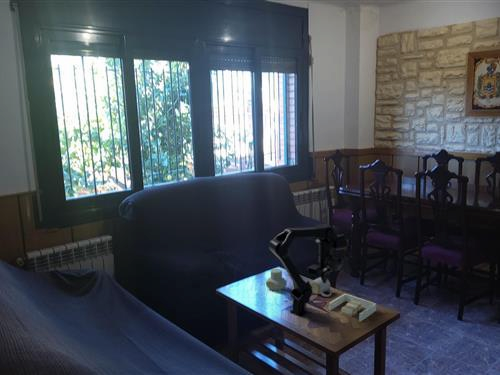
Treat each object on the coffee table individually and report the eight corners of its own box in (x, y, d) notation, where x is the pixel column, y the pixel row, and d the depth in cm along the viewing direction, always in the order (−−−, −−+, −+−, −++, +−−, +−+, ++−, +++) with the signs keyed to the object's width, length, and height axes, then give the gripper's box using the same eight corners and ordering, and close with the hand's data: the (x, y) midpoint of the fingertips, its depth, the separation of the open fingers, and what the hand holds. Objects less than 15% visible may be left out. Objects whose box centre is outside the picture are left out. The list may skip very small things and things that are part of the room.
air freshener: (263, 288, 224) (263, 270, 223) (272, 283, 231) (272, 265, 229) (280, 294, 218) (280, 275, 216) (289, 288, 224) (289, 270, 222)
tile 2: (355, 313, 197) (356, 307, 196) (346, 309, 200) (346, 303, 200) (361, 309, 201) (361, 303, 200) (351, 306, 204) (351, 300, 203)
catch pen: (360, 321, 189) (360, 314, 188) (328, 309, 200) (328, 302, 199) (375, 310, 199) (376, 303, 198) (344, 300, 210) (345, 293, 209)
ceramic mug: (308, 292, 219) (309, 278, 218) (319, 287, 224) (319, 274, 223) (324, 299, 211) (325, 285, 210) (335, 294, 216) (335, 280, 215)
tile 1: (351, 317, 193) (351, 311, 192) (341, 313, 196) (341, 307, 196) (356, 313, 197) (356, 307, 196) (346, 310, 200) (347, 304, 199)
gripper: (326, 260, 186) (326, 294, 189) (351, 250, 198) (350, 282, 201) (307, 254, 194) (306, 286, 197) (332, 245, 206) (331, 275, 209)
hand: (324, 282), depth 201 cm, fingers closed
